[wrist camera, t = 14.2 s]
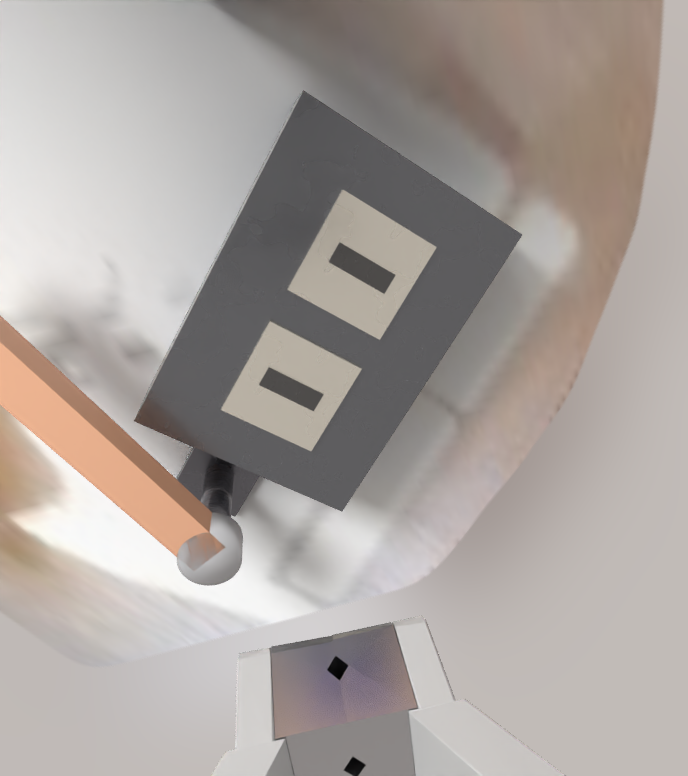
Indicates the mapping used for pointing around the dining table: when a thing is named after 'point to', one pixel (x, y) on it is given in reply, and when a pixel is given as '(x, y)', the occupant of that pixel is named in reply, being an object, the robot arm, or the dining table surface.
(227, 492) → the pivot post
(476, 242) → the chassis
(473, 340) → the dining table surface
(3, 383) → the swing arm
